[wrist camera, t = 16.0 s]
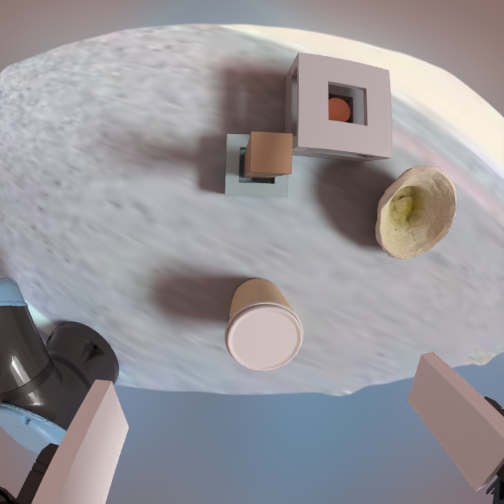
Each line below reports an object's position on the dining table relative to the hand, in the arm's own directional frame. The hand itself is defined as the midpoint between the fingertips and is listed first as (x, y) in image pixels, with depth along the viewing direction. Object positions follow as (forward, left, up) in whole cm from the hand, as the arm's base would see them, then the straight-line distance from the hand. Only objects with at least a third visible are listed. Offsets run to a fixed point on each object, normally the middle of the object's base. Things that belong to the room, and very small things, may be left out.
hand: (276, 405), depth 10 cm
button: (+11, +19, -32) cm, 39 cm away
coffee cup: (+2, -9, -33) cm, 34 cm away
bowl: (+24, +6, -33) cm, 41 cm away
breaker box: (+11, +19, -33) cm, 39 cm away
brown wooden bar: (+1, +11, -32) cm, 34 cm away
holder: (+1, +11, -33) cm, 35 cm away
